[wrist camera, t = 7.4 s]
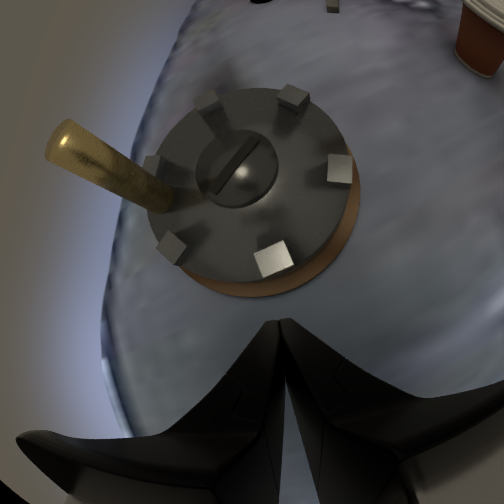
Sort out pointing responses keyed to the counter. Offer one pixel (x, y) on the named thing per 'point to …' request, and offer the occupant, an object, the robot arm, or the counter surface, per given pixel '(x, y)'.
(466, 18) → the coffee cup
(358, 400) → the robot arm
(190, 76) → the counter surface
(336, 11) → the door handle
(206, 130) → the ring nut
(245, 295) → the base
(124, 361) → the counter surface
